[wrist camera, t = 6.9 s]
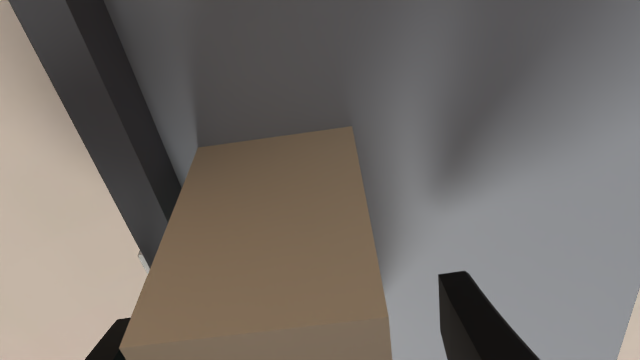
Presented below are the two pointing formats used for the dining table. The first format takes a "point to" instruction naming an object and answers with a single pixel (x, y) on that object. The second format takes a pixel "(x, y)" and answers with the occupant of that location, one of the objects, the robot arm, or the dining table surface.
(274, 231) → the carton
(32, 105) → the dining table surface
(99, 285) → the dining table surface
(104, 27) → the shelf board
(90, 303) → the dining table surface
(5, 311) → the dining table surface
